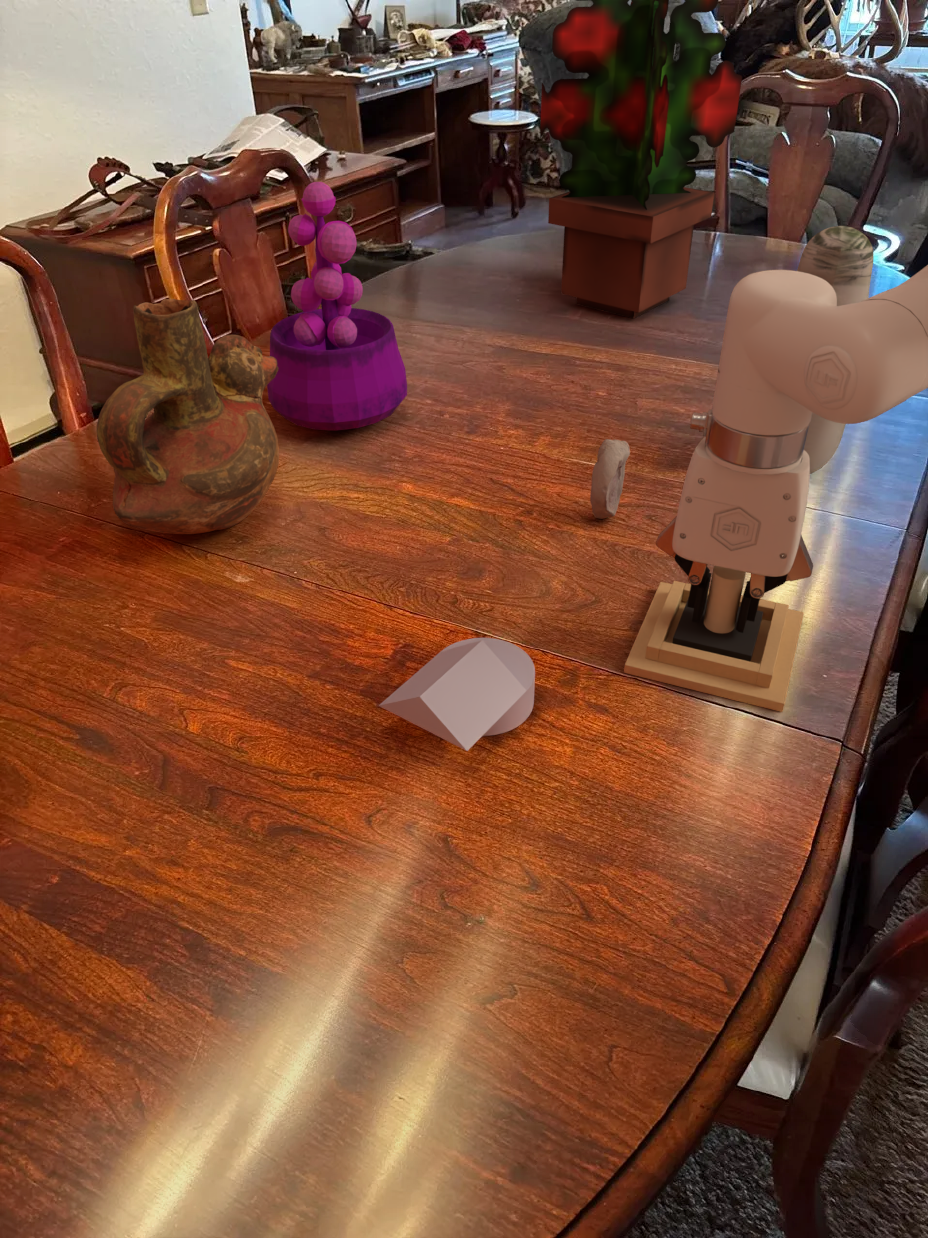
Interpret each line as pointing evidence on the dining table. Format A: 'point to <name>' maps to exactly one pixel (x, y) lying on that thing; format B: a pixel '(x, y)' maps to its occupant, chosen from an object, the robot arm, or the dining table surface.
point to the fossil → (608, 477)
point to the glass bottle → (848, 271)
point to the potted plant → (634, 146)
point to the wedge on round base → (468, 691)
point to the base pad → (711, 671)
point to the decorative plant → (333, 336)
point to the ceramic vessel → (189, 427)
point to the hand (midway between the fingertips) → (720, 617)
